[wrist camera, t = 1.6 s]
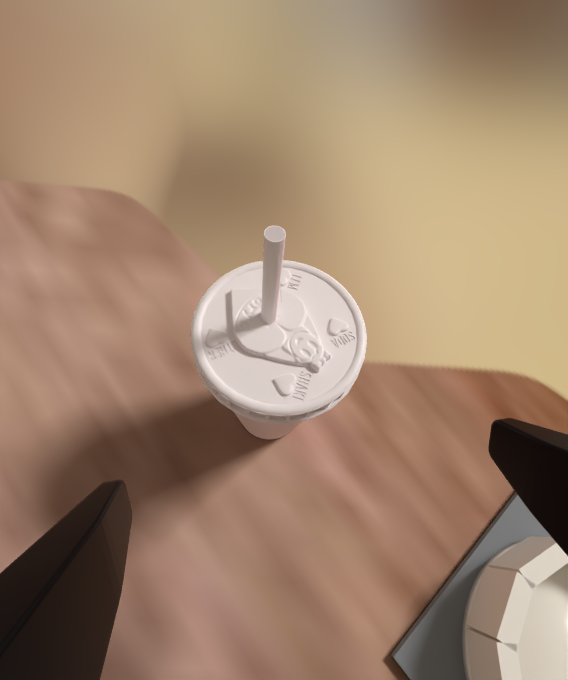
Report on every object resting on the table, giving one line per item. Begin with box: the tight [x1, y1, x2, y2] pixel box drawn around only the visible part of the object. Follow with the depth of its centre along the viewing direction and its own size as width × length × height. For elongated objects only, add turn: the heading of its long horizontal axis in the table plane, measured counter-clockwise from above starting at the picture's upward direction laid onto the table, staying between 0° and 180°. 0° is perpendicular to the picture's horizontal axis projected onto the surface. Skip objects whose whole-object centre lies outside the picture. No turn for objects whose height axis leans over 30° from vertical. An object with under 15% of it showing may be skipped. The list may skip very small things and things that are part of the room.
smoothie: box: [191, 226, 367, 439], centre depth 16 cm, size 6×6×14 cm
